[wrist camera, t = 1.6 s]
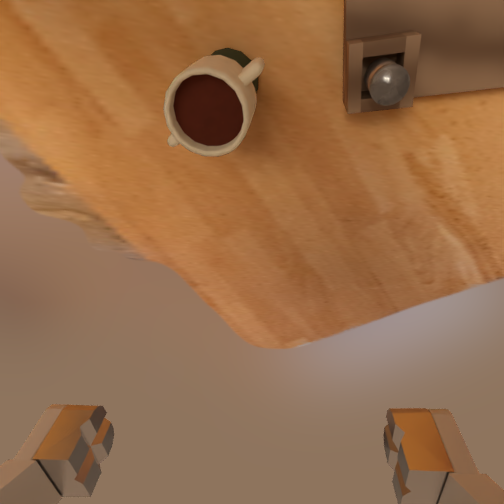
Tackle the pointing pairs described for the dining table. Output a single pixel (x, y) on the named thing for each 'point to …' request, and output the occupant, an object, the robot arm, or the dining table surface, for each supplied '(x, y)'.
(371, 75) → the leg peg
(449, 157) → the dining table surface
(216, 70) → the character mug
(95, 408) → the robot arm
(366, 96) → the wooden desk organizer
